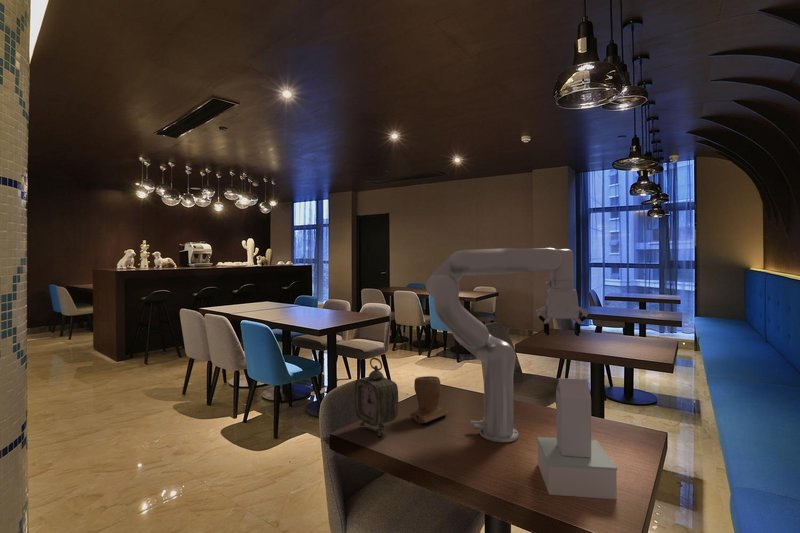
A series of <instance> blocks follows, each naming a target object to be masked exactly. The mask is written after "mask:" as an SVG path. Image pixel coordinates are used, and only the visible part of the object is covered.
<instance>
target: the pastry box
mask: <svg viewBox="0 0 800 533" xmlns="http://www.w3.org/2000/svg"><path fill="white" fill-rule="evenodd" d="M537 467H538V468H539V471H540V474H541V477H542V479H543V482H544V484H545V487H546V491H547V493H548V495H551V496H552V495H553V496H565V497H577V498H578V497H579V498H590V499H591V498H593V499H604V500H605V499H606V500H607V499H608V500H617V499H618V497H617V493H618V492H617V491H618V490H617V478H618V477H617V470H601V469H585V468H569V467H553V466H548V464H547V462H546V459H545V457H544V454H543V452H542V449H541V447H540V445H539V442H538V441H537Z"/></svg>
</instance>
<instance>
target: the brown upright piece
mask: <svg viewBox="0 0 800 533" xmlns="http://www.w3.org/2000/svg"><path fill="white" fill-rule="evenodd" d="M413 387H414V392H415V396H416V399H417V403H418V404H417V405H418V408H417V410H415V411H414V412H412V413H410V414H409V416H410V417H411V418H412V419H413V420H414V421H415V422H417V423H419V424H425V423H426V424H427V423H429V422H431V421H434V420H436V419H439V418H442V417H443V416H446V415H447V414H448V413H449V410H447V409H445V408H443V407H441V406H440V397H441V394H442V386H441V380H440V378H439V377H438V376H433V375H432V376H431V375H429V376H428V375H426V376H418V377H416V378H414V386H413Z"/></svg>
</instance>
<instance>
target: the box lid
mask: <svg viewBox="0 0 800 533" xmlns="http://www.w3.org/2000/svg"><path fill="white" fill-rule="evenodd" d="M536 439H537V443H538V442H539V445H540V447H541V449H542V452H543V454H544V457H545V459H546V462H547V464H548V466H553V467H569V468H585V469H601V470H616V471H618V468H617V466H616V464H615V463H614V462H613V461H612V460H611V458H610V456H609V455H608V454H607V453H606V451H605V450H604V449H603V447H602V446H601V445H600V443H599V441H597V439H591V458H590V457H575V456H562V454H561V452H560V450H559V447H558V445H557V437H542V436H537V438H536Z"/></svg>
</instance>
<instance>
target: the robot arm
mask: <svg viewBox="0 0 800 533" xmlns="http://www.w3.org/2000/svg"><path fill="white" fill-rule="evenodd" d="M534 272H549V280H548V281H545V286H547V287H549V289H547V292H546V300H545V305H544V306H542V307H539V308H537V309H536V310H535V314H536V316H537V317H538V319H539V320H540V321H541V322H543V333H545V335H546V336H549V335H550V323H549V322H550V321H551V320H552V319H554V320H555V319H556V320H559V319H560V320H563V319H565V320H573V321H575V322H574V328H573V329H574V330H573V331H574V335H575V336H577V337H579V336H580V334H581V325H582V323H583V322H584V321H586V319H587V317H588V315H589V314H590V311H589V310H588V309H585V308H583V307H581V306H579V300H578V292H577V289H575V288H574V252H573V250H572V249H569V248H558V249H557V248H554V247H545V248H544V247H543V248H540V247H539V248H510V247H509V248H507V247H506V248H505V247H504V248H503V247H502V248H501V247H500V248H480V249H479V248H478V249H476V248H475V249H464V250H463V249H462V250H458V251H457V250H456V251H455V252H454V253H452V254H450V256H449V257H447V258H446V260H445V261H444V262H443V263H442V264H441V265H440V266H439V267H438V268H437V269H436V270H435V271H434V272H433V273H431V275H430V276H429V278H428V279H427V281H426V285H425V286H426V292H427V294H428V295H429V296H430V297H431V298H433V308H434V312H435V315H436V317H437V319H438V320H439V321H440V322H441V324H443V325H444V326H445V327H446V328H447V329H448V330H449V331H450V332H451V333H452V335H453V337H454V339H455V340H456V342H457V343H458V344H460V345H461V346H462V347H463V348H465V349H466V350H467V351H468V352H470V354H471V355H473V356H475V357H476V358H477V359H478V360H479V361H481V362H482V363H484V364H485V365H486V366H485V371H484V376H483V412H484V413H483V417H482V419H480V420H470V427H473V428H474V430H478V429H479V435H480V436H481V437H482V438H483V439H484V440H488V441H490V442H494V443H510V442H511V443H512V442H514V441H517V440H518V439H519V436H520V435H519V434H520V433H519V431H518V430H517V429H516V428H514V424H515V423H514V418H515V417H514V372H515V366H516V361H517V360H516V359H517V358H516V352H515V349H514V348H513V347H512V345H511V344H510V343H508V342H507V341H505V340H502V339H501V338H498V337H495V336H494V335H492V334H491V333H490V332H489V329H488V328H487V326H486V325H485V323H483V322H482V321H480V320H479V319H478V318H476V317H475V316H474V315H473V314H471V313H470V312H469V310H468V309H466V308H465V307H464V306H463V305H462V304H461V301H460V283H459V282H460V280H461V279H462V278H463V277H464V276H483V275H488V276H489V275H507V274H508V275H509V274H511V275H512V274H516V273H517V274H519V273H534ZM544 311H545V315H546V316H545V317H544V316H543V315H542V312H544ZM580 312H581V313H582V315H581V316H579V315H580Z"/></svg>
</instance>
